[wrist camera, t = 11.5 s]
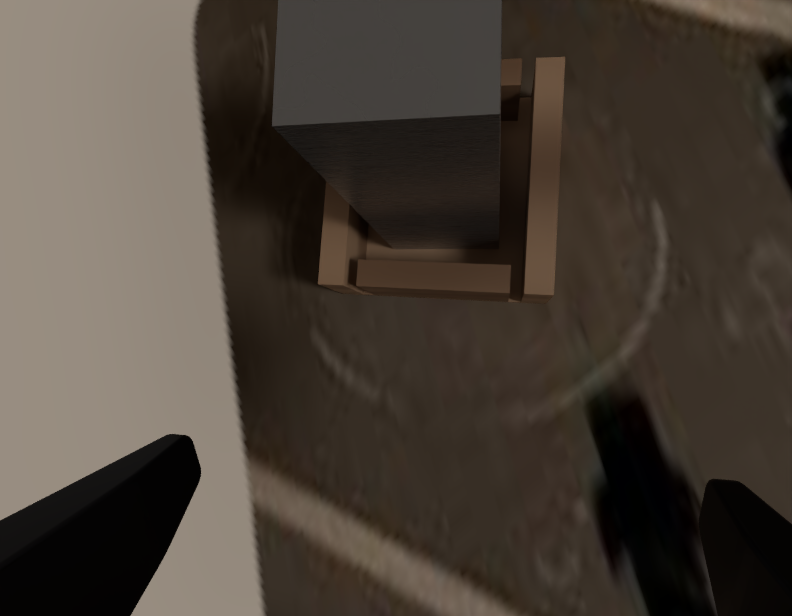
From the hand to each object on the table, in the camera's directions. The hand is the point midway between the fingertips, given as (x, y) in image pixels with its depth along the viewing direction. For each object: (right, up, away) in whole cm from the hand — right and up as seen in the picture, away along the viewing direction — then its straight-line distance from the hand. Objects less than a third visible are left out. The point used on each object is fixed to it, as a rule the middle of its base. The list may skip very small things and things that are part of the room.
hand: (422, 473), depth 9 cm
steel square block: (+2, +8, +13) cm, 15 cm away
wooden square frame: (+2, +8, +14) cm, 16 cm away
